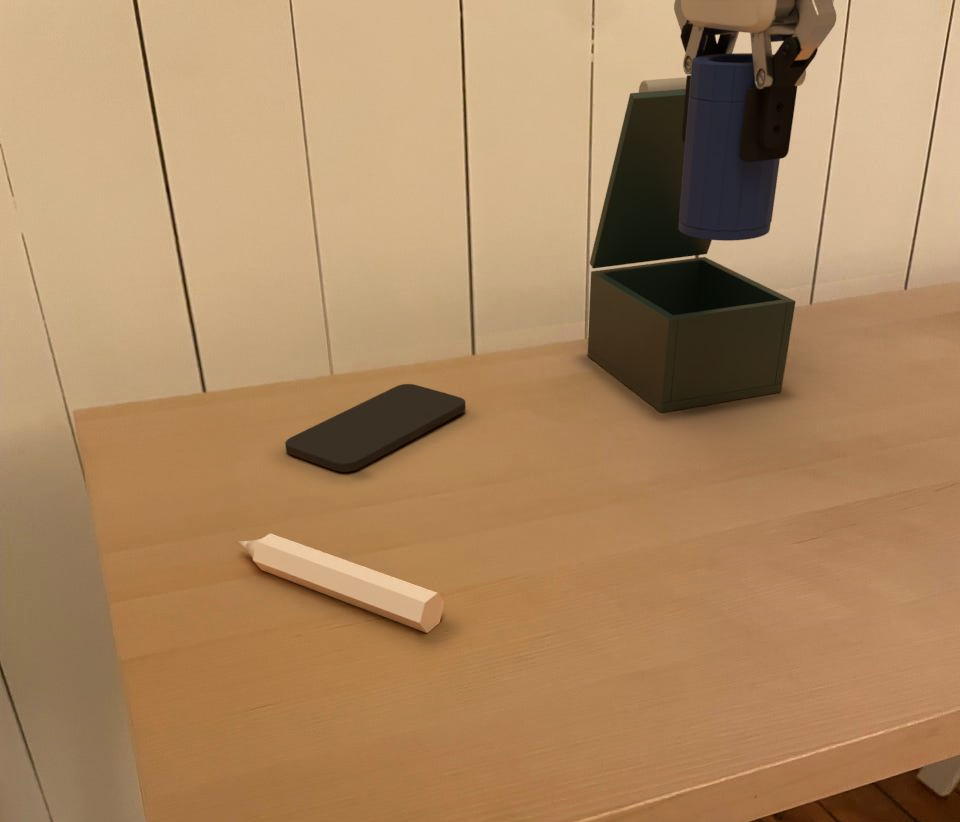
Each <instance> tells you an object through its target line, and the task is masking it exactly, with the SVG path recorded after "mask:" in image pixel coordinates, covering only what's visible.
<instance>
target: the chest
mask: <svg viewBox="0 0 960 822" xmlns="http://www.w3.org/2000/svg"><path fill="white" fill-rule="evenodd" d="M795 308H796V300H795V299H793V298H791V297H788V296H786V295H784V294H782V293H780V292H778V291H776V290H774V289H772V288H770V287H768V286H765V285H764V284H761V283H759V282H757V281H755V280H754V279H751V278H749V277H747V276H745V275H743V274H741V273H739V272H737V271H735V270H732V269H730V268H728V267H726V266H724V265H722V264H721V263H718V262H716V261H714V260H712V259H710V258H708V257H706V256H702V257H701V256H700V257H694V258H686V259H678V260H670V261H662V262H655V263H646V264H638V265H632V266H624V267H623V266H622V267H615V268H608V269H607V268H606V269H599V270H591V271H590V287H589V309H588V310H589V311H588V333H587V335H588V337H587V357H588V358H589V359H591V360H592V361H593V362H595V363H596V364H598V365H599V366H600V367H601V368H602V369H604V370H605V371H606V372H608V374H610V375H612V376H613V377H614V378H616V379H617V380H618V381H620V382H621V383H622V384H624V385H625V386H626V387H627V388H629V389H630V390H631V391H633V392H634V393H635V394H636V395H638V396H639V397H640V398H642V399H643V400H644V401H645V402H647V403H648V404H649V405H650V406H652V407H653V408H654V409H656V410H657V411H659V412H660V413H668V412H673V411H679V410H685V409H689V408H690V409H691V408H696V407H702V406H708V405H714V404H719V403H724V402H731V401H736V400H743V399H748V398H754V397H760V396H766V395H771V394H778V393H781V392H782V388H783V383H784V378H785V377H784V376H785V372H786V371H785V370H786V364H787V359H788V353H789V345H790V340H791V339H790V338H791V333H792V327H793V320H794V314H795Z"/></svg>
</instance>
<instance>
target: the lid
mask: <svg viewBox="0 0 960 822" xmlns="http://www.w3.org/2000/svg"><path fill="white" fill-rule="evenodd" d="M686 80H687V76H685V77H684V76H683V77H673V78H672V77H671V78H659V79H658V78H657V79H646V80H645V79H644V80H642V81H641V82H640V84H639V87H638V92H630V93H629V96H628V101H627V104H626V109H625V113H624V117H623V121H622V125H621V126H622V127H621V130H620V134H619V139H618V142H617V147H616V151H615V154H614V155H615V156H614V159H613V163H612V167H611V172H610V176H609V181H608V185H607V189H606V193H605V197H604V201H603V205H602V209H601V214H600V217H599V222H598V226H597V231H596V235H595V239H594V242H593V247H592V251H591V256H590V260H589V265H590V266H591V269H601V268H609V267H617V266H625V265H632V264H639V263H641V264H642V263H648V262H655V261H662V260H663V261H664V260H672V259H680V258H688V257H695V256H702V255H703V256H704V255H708V252H709V249H710V247H711V245H712V241H713V240H708V239H701V238H696V237H692V236H688V235H686V234H684V233H682V232H680V230H679V212H680V200H681V188H682V176H683V164H684V152H685V143H684V142H683V141H682V129H683V117H684V104H685V92H686Z"/></svg>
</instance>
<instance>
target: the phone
mask: <svg viewBox="0 0 960 822" xmlns="http://www.w3.org/2000/svg"><path fill="white" fill-rule="evenodd" d="M465 411H466V400H465V399H464V398H462V397H460V396H457V395H454V394H450V393H446V392H442V391H440V390H436V389H432V388H428V387H425V386H421V385H418V384H415V383H413V384H412V383H401V384H399V385H396V386H394V387H392V388H390V389H388V390H386V391H384V392H382V393H379V394H378V395H375V396H373V397H371V398H369V399H367V400H365V401H363V402H361V403H359V404H356V405H355V406H352V407H351V408H349V409H347V410H344V411H342V412H340V413H338V414H336V415H333V416H332V417H330V418H328V419H326V420H323V421H322V422H320V423H318V424H316V425H313V426H311V427H309V428H307V429H305V430H303V431H301V432H299V433H296V434H294V435H292V436H291V437H289V438H288V439H286V441H285V443H284V446H285V451H286V453H287V454H289V455H291V456H294V457H297V458H299V459H302V460H305V461H308V462H311V463H312V464H316V465H318V466H321V467H324V468H327V469H330V470H333V471H335V472H339V473H349V472H354V471H356V470H359V469H361V468H362V467H365V466H366V465H368V464H370V463H372V462H374V461H376V460H377V459H380V458H381V457H383V456H385V455H386V454H388V453H391V452H393V451H394V450H396V449H398V448H400V447H401V446H403V445H405V444H407V443H409V442H410V441H413V440H414V439H416V438H418V437H420V436H422V435H424V434H425V433H427V432H429V431H431V430H433V429H435V428H436V427H438V426H440V425H442V424H445V422H447V421H450V420H451V419H453V418H455V417H457V416H458V415H460V414H462V413H463V412H465Z"/></svg>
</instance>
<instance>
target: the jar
mask: <svg viewBox="0 0 960 822" xmlns="http://www.w3.org/2000/svg"><path fill="white" fill-rule="evenodd" d="M774 55H775V53H774V54H773V53H772V58H773V56H774ZM690 75H691V79H690V91H689V103H688V115H687V128H686V140H685V152H684V164H683V176H682V188H681V200H680V212H679V230H680V232H682V233H684V234H686V235H688V236H692V237H696V238H701V239H708V240H712V241H723V242H724V241H725V242H727V241H729V242H730V241H731V242H732V241H745V240H752V239H753V240H754V239H757V238H761V237H763V236H766V235H768V234H769V232H770V231H771V223H772V220H773V213H774V206H775V198H776V190H777V184H778V177H779V168H780V161H781V159H772V160H764V161H755V162H746V161H742V160H741V159H740V145H741V136H742V127H743V118H744V109H745V100H746V92H747V88H752V87H756V85H755V80H754V69H753V58H752V52H749V53H748V52H745V53H743V52H742V53H738V52H737V53H734V52H733V53H732V54H714V55H706V56H699V57H696V58H693V59H692V67H691V74H690Z"/></svg>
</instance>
